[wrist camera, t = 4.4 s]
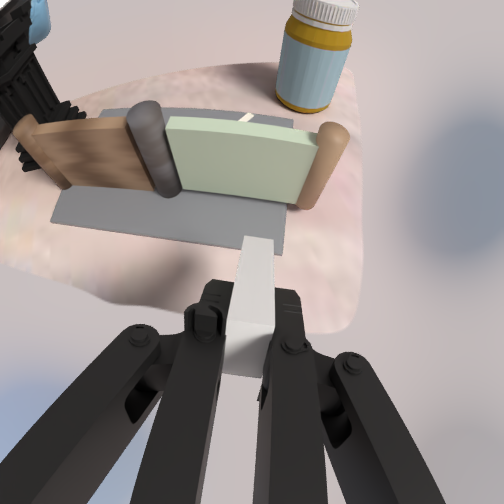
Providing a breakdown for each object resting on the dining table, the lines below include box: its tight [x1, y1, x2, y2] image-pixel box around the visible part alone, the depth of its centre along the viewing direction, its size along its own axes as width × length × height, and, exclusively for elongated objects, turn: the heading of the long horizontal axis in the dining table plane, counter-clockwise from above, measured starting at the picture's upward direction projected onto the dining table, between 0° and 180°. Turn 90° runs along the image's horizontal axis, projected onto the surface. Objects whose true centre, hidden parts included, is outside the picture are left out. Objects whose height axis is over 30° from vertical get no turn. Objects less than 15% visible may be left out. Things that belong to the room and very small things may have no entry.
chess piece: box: [0, 0, 87, 172], centre depth 18 cm, size 8×8×20 cm
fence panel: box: [165, 116, 350, 210], centre depth 20 cm, size 12×2×9 cm, turn 82°
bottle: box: [275, 0, 359, 113], centre depth 23 cm, size 7×7×15 cm
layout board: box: [50, 108, 293, 256], centre depth 26 cm, size 24×16×1 cm, turn 82°
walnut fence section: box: [13, 101, 183, 199], centre depth 20 cm, size 15×2×10 cm, turn 82°
